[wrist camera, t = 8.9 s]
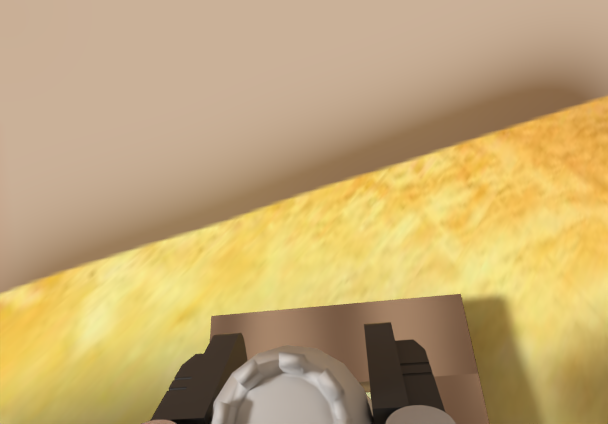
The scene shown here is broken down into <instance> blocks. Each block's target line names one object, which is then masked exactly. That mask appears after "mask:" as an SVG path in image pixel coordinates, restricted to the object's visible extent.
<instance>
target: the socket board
mask: <svg viewBox="0 0 608 424" xmlns="http://www.w3.org/2000/svg"><path fill="white" fill-rule="evenodd" d="M384 322H391V324H392V329H393V334H394V338H395V341H397V340H411V339H414V340H415V341H416V342H417V343H418V344H419V345H421V346H422V347H423V348H424V349H425V351H426V354H427V357H428V360H429V364H430V366H431V369H432V373H433V375H434V378H435V381H436V385H437V388H438V391H439V394H440V397H441V400H442V403H443V406H444V409H445V412H446V413H447V414H448V415H449V416H450V417H451V418H452V419H453V420H454V421H455V423H456V424H489V419H488V415H487V410H486V406H485V401H484V397H483V392H482V388H481V383H480V379H479V375H478V370H477V366H476V361H475V357H474V352H473V348H472V343H471V339H470V334H469V330H468V325H467V321H466V316H465V312H464V307H463V303H462V298H461V294H456V295H444V296H433V297H422V298H411V299H399V300H388V301H377V302H365V303H354V304H343V305H332V306H320V307H309V308H298V309H287V310H275V311H264V312H253V313H241V314H230V315H219V316H212V317H211V334H210V341H211V339H212V337H213V336H214V335H218V334H231V333H242V335H243V337H244V341H245V347H246V353H247V359H248V360H250V359H251V358H252V357H253V356H255V355H256V354H258V353H261V352H264V351H268V350H271V349H275V348H278V347H281V346H285V345H291V346H300V347H309V348H317V349H319V350H320V351H322V352H324V353H326V354H328V355H329V356H331V357H333V358H335V359H337V360H338V361H340V362H342V363H344V364H345V366H346V367H347V368H348V369H349V371H350V372H351V373H352V375H353V376H354V377H355V378H356V380H357V381H358V382H359V383H360V385H361V386H362V387H363V388H364V390H365V392H370V382H369V372H368V361H367V351H366V341H365V331H364V324H370V323H384Z"/></svg>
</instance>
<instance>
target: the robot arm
mask: <svg viewBox="0 0 608 424" xmlns="http://www.w3.org/2000/svg"><path fill="white" fill-rule="evenodd" d="M364 331H365V341H366V351H367V361H368V372H369V382H370V392H371V402H372V412H373V421H374V424H456V423H455V421H454V420H453V419H452V418H451V417H450V416H449V415H448V414H447V413H446V412H445V409H444V406H443V403H442V400H441V397H440V394H439V391H438V388H437V385H436V381H435V378H434V375H433V373H432V369H431V366H430V364H429V360H428V357H427V354H426V351H425V349H424V348H423V347H422V346H421V345H419V344H418V343H417V342H416V341H415V340H414V339H411V340H397V341H395V338H394V334H393V329H392V324H391V322H384V323H370V324H364ZM247 361H248V359H247V353H246V347H245V341H244V337H243V335H242V333H231V334H218V335H214V336H213V337H212V339H211V341H210V343H209V345H208V347H207V349H206V351H205V353H204V354H195V355H194V356H193V357H192V358H190V359H189V360H188V361H187V362H185V363H184V364H183V365H182V366H181V368H180V370H179V371H178V373H177V375H176V377H175V380H173V382H172V384H171V385H170V387H169V391H167V392H166V394H165V396H164V397H163V399H162V401H161V403H160V404H159V406H158V408H157V410H156V411H155V413H154V415H153V417H152V418H151V420H150V421H148V422H145V423H142V424H209V422H210V417H211V413H212V408H213V404H214V401H215V399H216V398H217V396H218V395H219V393H220V391H221V390H222V388H223V387H224V385H225V383H226V382H227V380H228V379H229V377H230V375H231V374H232V373H233V372H234V371H235V370H237V369H238V368H239V367H241V366H242V365H243V364H244V363H246V362H247Z"/></svg>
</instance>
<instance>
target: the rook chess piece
mask: <svg viewBox="0 0 608 424" xmlns="http://www.w3.org/2000/svg"><path fill="white" fill-rule="evenodd" d="M209 424H374V421H373V412H372V402H371V400H370V398H369V397H368V396H367V394H366V393H365V390H364V388H363V387H362V386H361V385H360V383H359V382H358V381H357V380H356V378H355V377H354V376H353V375H352V373H351V372H350V371H349V369H348V368H347V367H346V366H345V364H344V363H342V362H340V361H338V360H337V359H335V358H333V357H331V356H329V355H328V354H326V353H324V352H322V351H320V350H319V349H317V348H309V347H300V346H291V345H285V346H281V347H278V348H275V349H271V350H268V351H264V352H261V353H258V354H256V355H255V356H253V357H252V358H251V359H250V360H248V361H247V362H246V363H244V364H243V365H242V366H241V367H239V368H238V369H237V370H235V371H234V372H233V373H232V374H231V375H230V377H229V379H228V380H227V382H226V383H225V385H224V387H223V388H222V390H221V391H220V393H219V395H218V396H217V398H216V399H215V401H214V404H213V408H212V413H211V417H210V422H209Z"/></svg>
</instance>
